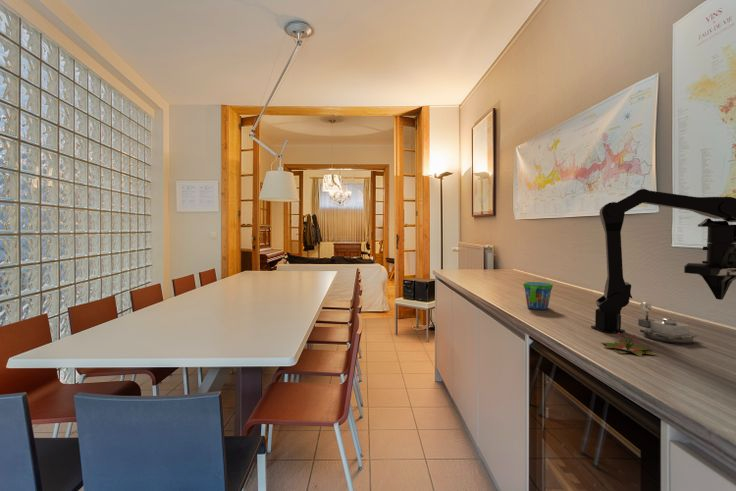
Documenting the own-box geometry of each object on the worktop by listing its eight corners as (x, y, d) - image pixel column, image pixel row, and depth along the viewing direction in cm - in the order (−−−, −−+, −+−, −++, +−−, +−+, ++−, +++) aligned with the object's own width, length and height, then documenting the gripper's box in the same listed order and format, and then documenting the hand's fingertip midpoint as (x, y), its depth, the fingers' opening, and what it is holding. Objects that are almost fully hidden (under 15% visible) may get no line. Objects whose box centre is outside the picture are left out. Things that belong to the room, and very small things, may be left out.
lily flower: (669, 361, 83) (670, 342, 83) (614, 357, 85) (614, 339, 85) (639, 345, 95) (640, 328, 95) (591, 342, 97) (592, 326, 97)
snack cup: (531, 303, 149) (531, 280, 148) (558, 307, 141) (558, 282, 141) (516, 309, 138) (516, 283, 138) (544, 313, 130) (544, 286, 130)
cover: (672, 336, 96) (673, 322, 96) (650, 330, 102) (650, 317, 101) (688, 334, 97) (689, 321, 97) (665, 328, 103) (666, 316, 103)
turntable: (673, 345, 93) (673, 339, 93) (633, 334, 104) (633, 328, 104) (703, 342, 96) (704, 336, 96) (661, 331, 106) (661, 325, 106)
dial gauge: (647, 327, 111) (648, 303, 111) (638, 324, 114) (638, 301, 114) (655, 326, 112) (655, 302, 112) (645, 324, 115) (645, 301, 115)
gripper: (734, 244, 85) (731, 307, 86) (785, 243, 90) (783, 303, 90) (683, 243, 96) (681, 298, 97) (731, 242, 101) (729, 296, 101)
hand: (719, 299), depth 96 cm, fingers closed
